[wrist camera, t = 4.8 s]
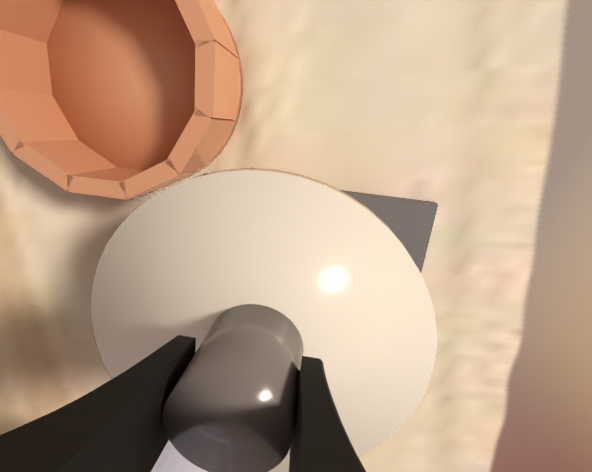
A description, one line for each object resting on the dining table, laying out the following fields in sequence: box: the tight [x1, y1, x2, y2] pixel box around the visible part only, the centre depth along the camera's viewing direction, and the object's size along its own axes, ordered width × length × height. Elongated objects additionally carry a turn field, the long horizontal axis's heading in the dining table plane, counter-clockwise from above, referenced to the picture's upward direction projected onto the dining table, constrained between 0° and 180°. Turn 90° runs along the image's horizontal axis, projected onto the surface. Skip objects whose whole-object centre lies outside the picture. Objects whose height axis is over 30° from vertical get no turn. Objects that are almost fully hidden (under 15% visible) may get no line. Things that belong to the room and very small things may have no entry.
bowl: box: [0, 0, 243, 200], centre depth 16 cm, size 11×11×4 cm
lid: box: [91, 168, 437, 472], centre depth 11 cm, size 13×13×4 cm
